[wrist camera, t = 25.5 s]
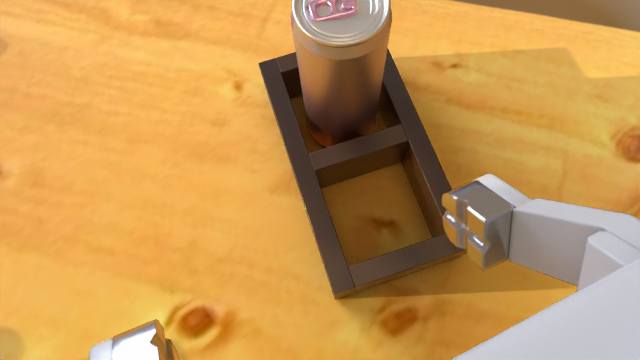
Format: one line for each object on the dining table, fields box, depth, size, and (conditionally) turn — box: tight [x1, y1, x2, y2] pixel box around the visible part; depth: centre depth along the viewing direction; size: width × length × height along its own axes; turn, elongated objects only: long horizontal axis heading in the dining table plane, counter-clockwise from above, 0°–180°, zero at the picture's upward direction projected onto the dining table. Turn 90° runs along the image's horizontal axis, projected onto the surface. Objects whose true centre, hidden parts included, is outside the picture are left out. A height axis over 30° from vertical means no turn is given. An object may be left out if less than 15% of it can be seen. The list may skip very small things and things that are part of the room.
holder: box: [259, 48, 467, 299], centre depth 36 cm, size 10×20×4 cm, turn 18°
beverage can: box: [291, 0, 392, 147], centre depth 32 cm, size 6×6×15 cm
